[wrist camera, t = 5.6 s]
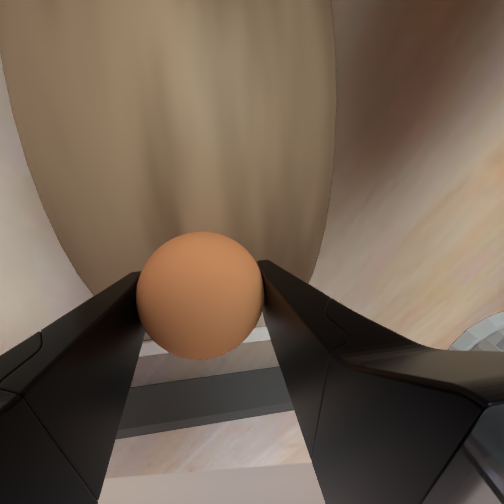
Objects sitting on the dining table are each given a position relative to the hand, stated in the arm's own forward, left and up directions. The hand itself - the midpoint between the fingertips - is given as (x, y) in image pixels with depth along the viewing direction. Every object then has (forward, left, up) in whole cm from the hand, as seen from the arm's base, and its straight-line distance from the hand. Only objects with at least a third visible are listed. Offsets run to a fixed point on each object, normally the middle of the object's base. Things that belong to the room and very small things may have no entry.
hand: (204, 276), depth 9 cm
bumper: (0, +14, -6) cm, 15 cm away
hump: (0, -2, -23) cm, 23 cm away
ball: (0, 0, +1) cm, 1 cm away
